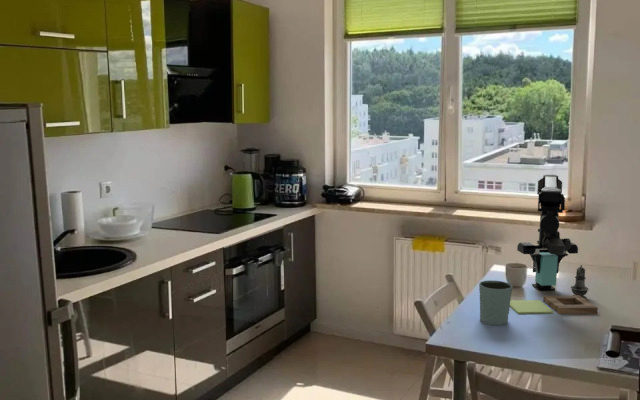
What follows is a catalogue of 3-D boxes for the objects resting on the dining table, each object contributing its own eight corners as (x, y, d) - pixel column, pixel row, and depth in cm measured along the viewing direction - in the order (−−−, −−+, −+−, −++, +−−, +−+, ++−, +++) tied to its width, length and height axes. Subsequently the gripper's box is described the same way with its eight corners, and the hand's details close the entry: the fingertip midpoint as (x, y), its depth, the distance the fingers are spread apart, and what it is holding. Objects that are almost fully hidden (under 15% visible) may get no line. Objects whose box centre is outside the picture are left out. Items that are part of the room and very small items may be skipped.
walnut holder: (543, 301, 222) (543, 295, 222) (579, 300, 223) (579, 295, 222) (558, 313, 209) (559, 307, 209) (597, 313, 210) (597, 307, 209)
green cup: (474, 323, 200) (475, 286, 198) (481, 313, 209) (483, 278, 207) (506, 328, 196) (508, 290, 194) (513, 318, 204) (515, 282, 203)
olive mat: (505, 302, 221) (505, 300, 221) (539, 301, 221) (539, 300, 221) (518, 313, 209) (518, 312, 209) (553, 313, 209) (553, 311, 209)
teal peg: (535, 281, 216) (536, 252, 214) (549, 281, 216) (551, 252, 215) (541, 285, 211) (543, 256, 210) (556, 285, 211) (557, 255, 210)
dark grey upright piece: (584, 295, 229) (587, 263, 227) (590, 300, 223) (592, 267, 221) (568, 294, 229) (570, 262, 227) (572, 299, 223) (575, 266, 222)
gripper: (531, 232, 202) (528, 280, 205) (587, 232, 204) (584, 279, 206) (517, 225, 213) (515, 271, 216) (571, 225, 215) (568, 270, 217)
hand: (545, 272), depth 213 cm, fingers closed on teal peg, 5 cm apart
